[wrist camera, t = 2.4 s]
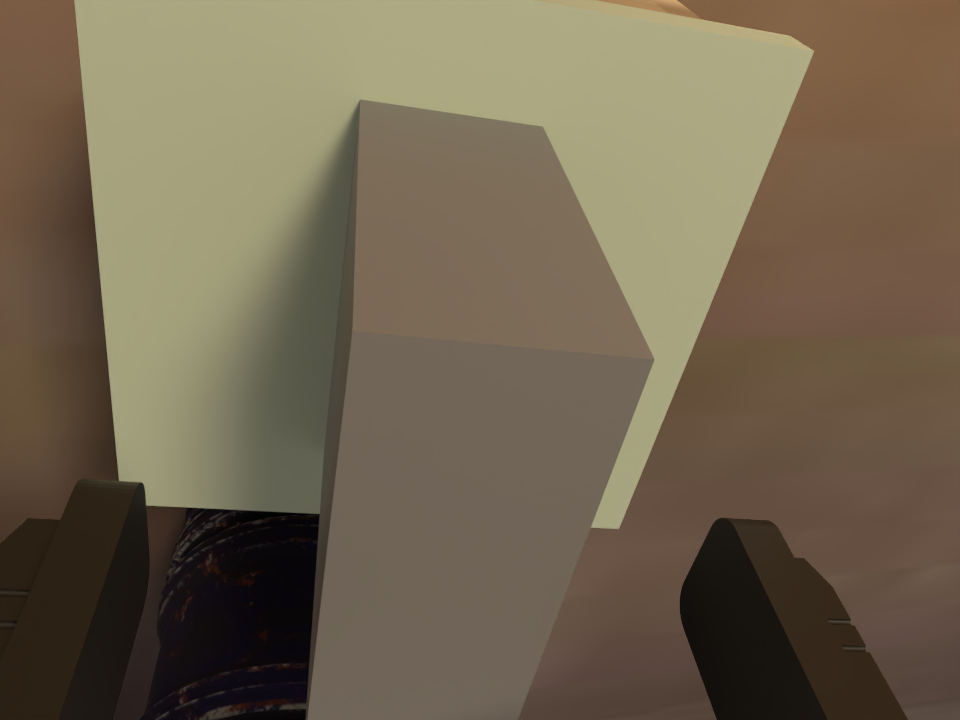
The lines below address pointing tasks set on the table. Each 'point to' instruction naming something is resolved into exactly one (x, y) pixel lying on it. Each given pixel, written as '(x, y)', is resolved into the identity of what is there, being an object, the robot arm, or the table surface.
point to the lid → (416, 292)
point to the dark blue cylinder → (236, 618)
